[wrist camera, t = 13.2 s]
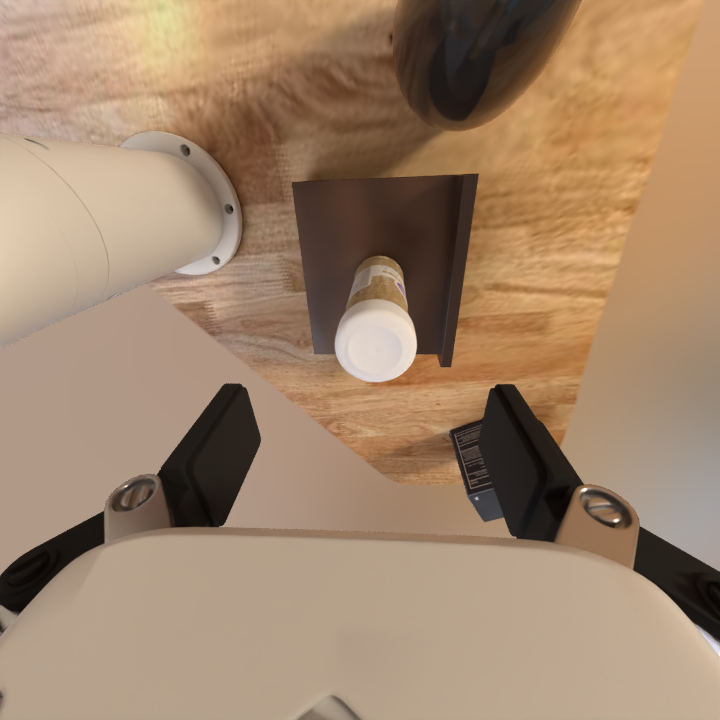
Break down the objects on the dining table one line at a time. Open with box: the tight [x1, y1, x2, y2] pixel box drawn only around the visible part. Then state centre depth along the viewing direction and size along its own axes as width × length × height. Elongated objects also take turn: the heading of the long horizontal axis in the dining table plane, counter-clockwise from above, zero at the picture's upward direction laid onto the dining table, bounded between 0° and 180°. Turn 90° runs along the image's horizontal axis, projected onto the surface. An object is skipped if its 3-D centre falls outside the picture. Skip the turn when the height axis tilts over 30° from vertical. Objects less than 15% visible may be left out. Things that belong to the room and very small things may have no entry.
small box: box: [449, 420, 504, 522], centre depth 38 cm, size 11×6×10 cm, turn 121°
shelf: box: [292, 174, 479, 367], centre depth 29 cm, size 14×16×8 cm
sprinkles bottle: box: [335, 256, 417, 382], centre depth 22 cm, size 5×5×14 cm
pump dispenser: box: [393, 0, 582, 131], centre depth 17 cm, size 10×10×15 cm
